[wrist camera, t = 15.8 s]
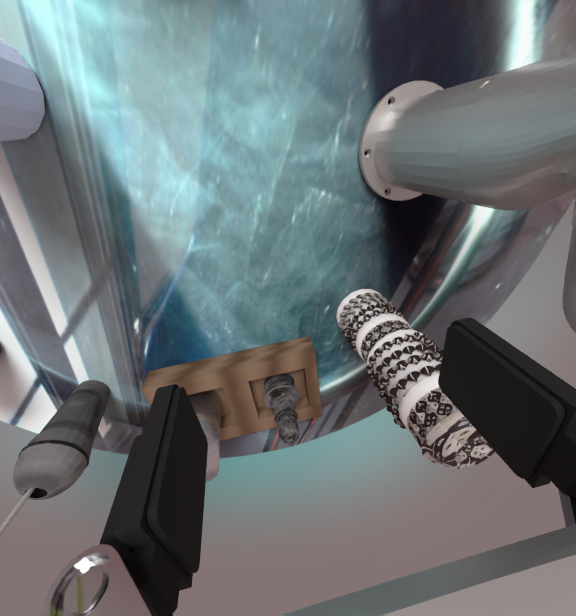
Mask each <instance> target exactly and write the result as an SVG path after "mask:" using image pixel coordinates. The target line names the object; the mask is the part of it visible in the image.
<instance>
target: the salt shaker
mask: <svg viewBox="0 0 576 616" xmlns="http://www.w3.org/2000/svg"><path fill="white" fill-rule="evenodd" d="M264 388H265V390H266V391H267V392H266V395H265V398H264V403H265V406H266V407H267V408H268V409H270V410H271V411H274V412H275V415H276V416H275V418H274V421H275V423H276V424H277V425H278V430H279V436H280V439H281V440H282V441H283V442H285V443H289V445H290V446H293V444H294V443H293V442H295V441H296V440H297V439H298V438H299V429H298V425H297V420H298V414H297V413H296V412H295V410H294V407H295V406H296V405H297V404H298V402H299V400H300V393H299V391H298V390H297V389H296V388H295V386H294V378H293V376H292V375H291V374H289V373H282V374H278V375H274V376H269V377H267V378H266V380H265V382H264Z"/></svg>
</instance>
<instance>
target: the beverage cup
mask: <svg viewBox="0 0 576 616" xmlns="http://www.w3.org/2000/svg"><path fill="white" fill-rule="evenodd" d="M109 395H110V390H109V388H108V386H107V385H105V384H104V383H102V382H99V381H95V380H89V381H85V382H82V383H81V384H80V385H79V386H78V387H77V388H76V389H75V390H74V391H73V392H72V394H71V395H70V396H69V397H68V399H67V400H66V401H65V402H64V404H63V405H62V406H61V407H60V409H59V410H58V411H57V412H56V414H55V415H54V416H53V417H52V418H51V420H50V421H49V422H48V423H47V425H46V426H45V427H44V428H43V430H42V431H41V432H40V433H39V434H38V435H37V436H36V437H35V438H34V439H33V440H32V441H31V442H30V443H29V444H28V445H27V446H26V447H25V448H23V449H22V451H21V452H20V454H19V457H18V460H17V462H16V464H15V467H14V470H13V483H14V486H15V488H16V489H17V491H18V492H19V493H20V494H21V495H23V497H22V499H21V500H20V502H19V503H18V504H17V505H16V507H15V508H14V509H13V511H12V512H11V513H10V515H9V516H8V517H7V519H6V520H5V522H4V523H3V524H2V526H1V527H0V536H1V535H2V533H3V532H4V531H5V529H6V528H7V526H8V525H9V524H10V522H11V521H12V520H13V518H14V517H15V516H16V514H17V513H18V511H19V510H20V509H21V507H22V506H23V505H24V503H25V502H26V500H27V499H28V498H29V499H34V500H41V499H47V498H51V497H54V496H56V495H58V494H60V493H62V492H63V491H65V490H67V489H68V488H69V487H71V486H72V485H73V484H74V483H75V482H76V481H77V479H78V478H79V477H80V475H81V474H82V473H83V471H84V469H85V468H86V467H87V466H88V464H89V457H90V454H91V449H92V444H93V441H94V438H95V435H96V433H97V430H98V427H99V424H100V421H101V419H102V416H103V413H104V410H105V408H106V405H107V401H108V397H109Z"/></svg>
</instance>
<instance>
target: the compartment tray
mask: <svg viewBox="0 0 576 616" xmlns="http://www.w3.org/2000/svg"><path fill="white" fill-rule="evenodd" d="M282 373H289V374H291V375H292V376H293V378H294V386H295V388H296V389H297V390H298V391H299V393H300V400H299V402H298V404H297V405H296V406H295V407H294V410H295V412H296V413H297V414H298V420H297V422H299V421H303V420H307V419H311V418H316V417H320V416H322V409H321V400H320V391H319V382H318V372H317V363H316V354H315V349H314V347H313V345H312V342H311V340H310V338H309V336H307V337H303V338H298V339H294V340H289V341H285V342H280V343H275V344H271V345H266V346H262V347H257V348H253V349H248V350H243V351H239V352H234V353H230V354H225V355H221V356H216V357H212V358H207V359H202V360H198V361H193V362H189V363H184V364H180V365H175V366H171V367H166V368H161V369H157V370H152V371H149V372H148V374H147V377H146V380H145V383H144V385H143V388H142V391H143V393H144V395H145V396H146V398H147V400H148V402H149V404H150V405H152V402H153V399H154V395H155V392H156V390H157V389H158V388H160V387H164V386H168V385H173V384H177V385H178V386H179V388H180V387H184V388H185V390H186V392H187V395H191V394H195V393H200V392H204V391H208V390H213V391H215V392H217V393H218V394H219V395H220V397H221V422H220V441H222V440H226V439H230V438H234V437H238V436H242V435H246V434H251V433H255V432H259V431H263V430H267V429H271V428H275V427H278V425H277V424H276V423H275V421H274V418H275V416H276V415H275V412H274V411H271V410H270V409H268V408H267V407H266V406H265V403H264V398H265V395H266V392H267V391H266V390H265V388H264V382H265V380H266V378H267V377H269V376H274V375H278V374H282Z"/></svg>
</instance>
